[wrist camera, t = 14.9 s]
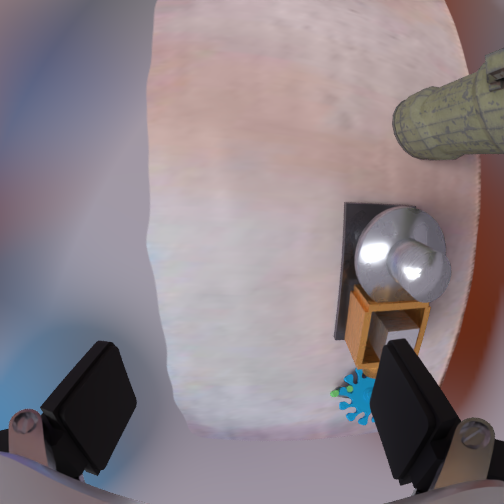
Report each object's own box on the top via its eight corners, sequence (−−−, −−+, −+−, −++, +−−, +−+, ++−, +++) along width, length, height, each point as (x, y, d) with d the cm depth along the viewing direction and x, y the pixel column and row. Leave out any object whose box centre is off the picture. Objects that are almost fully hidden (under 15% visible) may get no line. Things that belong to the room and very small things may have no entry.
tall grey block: (361, 294, 36) (388, 331, 26) (387, 293, 36) (419, 328, 26) (357, 320, 37) (380, 362, 27) (383, 318, 37) (411, 358, 27)
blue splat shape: (402, 367, 38) (392, 427, 33) (387, 372, 43) (377, 425, 39) (340, 358, 40) (327, 420, 35) (330, 363, 45) (318, 419, 40)
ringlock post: (340, 198, 34) (383, 213, 20) (415, 202, 33) (480, 219, 20) (328, 349, 40) (349, 417, 26) (394, 343, 39) (431, 401, 25)
